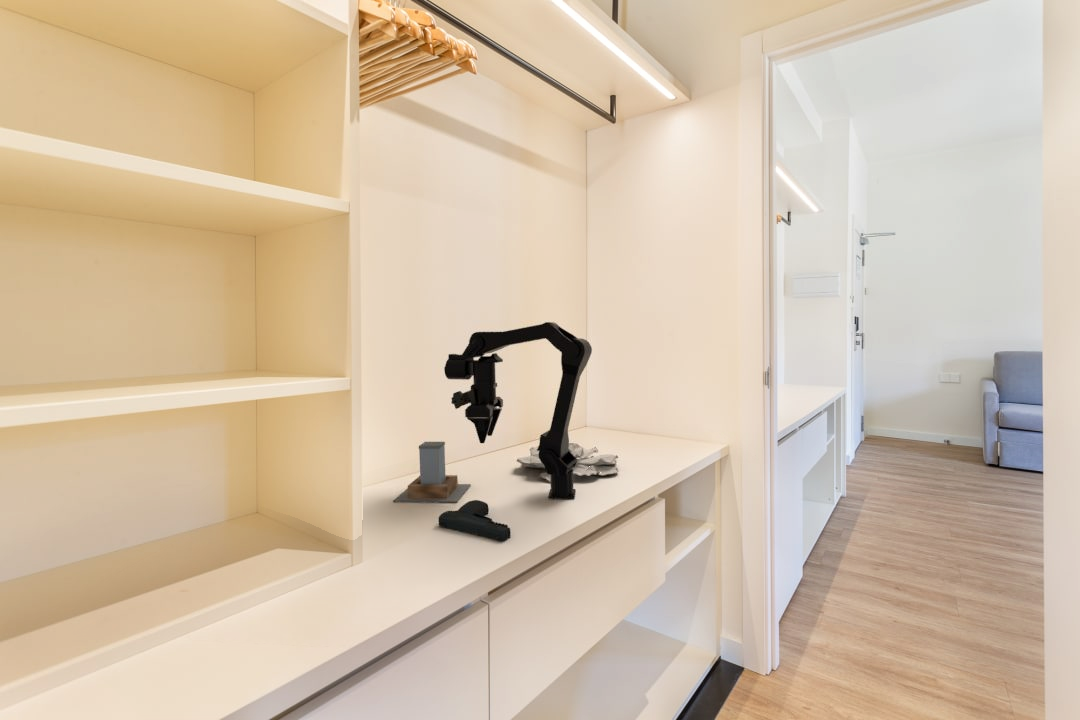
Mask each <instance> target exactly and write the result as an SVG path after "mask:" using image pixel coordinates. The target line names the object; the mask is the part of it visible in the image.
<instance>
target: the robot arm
mask: <svg viewBox="0 0 1080 720" xmlns="http://www.w3.org/2000/svg"><path fill="white" fill-rule="evenodd" d="M545 339H546V340H547V341H548V343H550V344H551V345H552V346H553V347H554V348H555V349H556V350H558V351H559V352H560V353H561V356H560V358H561V359H560V365H561V371H562V375H561V378H560V379H561V380H560V383H559V388H558V392H557V397H556V400H555V401H556V402H555V406H554V411H553V415H552V419H551V420H552V421H551V423H550V428H549V430H547V431H545V432H543V433H542V434H540V435H539V436H540V437H539V444H538V446H539V447H538V446H537V447H538V449H537V451H539V459H540V461H541V462H542V463H543V464H544V466H545V468H544V469H545V471H546V472H547V474H550V482H549V483H550V489H549V492H548V494H547V495H548V496H547V499H556V500H557V499H563V500H569V499H570V500H575V498H576V489H575V488H574V478H573V470H572V469H573V468H574V467H575V466H576V463H577V459H576V457H575V456H574V455H573V454H572V453H571V452H570V451H569V443H570V437H569V427H570V422H571V417H572V413H573V408H574V405H575V401H576V400H575V399H576V395H577V391H578V387H579V383H580V378H581V376H582V374H583V372H584V370H585V368H586V367H587V365H588V362H589V360H590V358H591V355H592V351H593V349H592V345H591V344H590V341H588V340H587V339H585V338H578V337H577V336H575V335H574V334H572V333H571V332H569V331H568V330H566V329H564V328H562V327H561V326H560V325H558V323H557V322H554V321H553V322H552V321H551V322H550V321H547V322H544V323H541V324H536V325H529V326H526V327H521V328H515V329H509V330H506V331H476V332H473V333H472V334H471V336H470V337H469V341H468V344H467V346H466V347H465V349H464V350H463V352H462V354H457V353H448V357H447V358H448V359H447V360H446V362H445V365H444V369H443V371H444V376H445V377H446V379H448V380H459V381H460V380H463V381H465V380H466V381H468V380H471V378H473V381H472V382H473V383H472V384H471V386H470V389H469V390H467V391H465V392H462V391H461V390H459V391H456V392H453V393H452V397H451V402H450V403H451V404H452V405H454V408H455V410H457V409H459V408H460V409H461V407H463V406H465V405H468V404H469V405H468V406H467V407H466V408H465V409H464V415H465V416H464V417H465V418H466V419H467V420H468V421H470V422H471V423H472V424H474V427H475V431H476V434H477V437H478V440H479V443H480V444H485V442H486V439H487V436H488V437H490V436H491V437H492V436H493V434H494V430H495V428H496V425H497V422H498V420H499V417H500V415H501V412H502V410H503V407H504V400H503V398H502V397H501V396H497V390H496V389H497V387H498V382H496V364H498V363H503V360H504V359H503V358H502V357H500V356H499V355H498V354H497V351H499V350H502V349H504V348H506V347H509V346H512V345H513V346H514V345H517V344H518V345H519V344H523V343H529V342H533V341H540V340H545ZM494 352H495V353H494ZM486 354H491V355H486ZM474 358H478V359H474Z"/></svg>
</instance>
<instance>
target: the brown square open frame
mask: <svg viewBox="0 0 1080 720" xmlns="http://www.w3.org/2000/svg"><path fill="white" fill-rule="evenodd" d="M445 476H446V482H445V483H444V484H421V483H420V475H419V476H418V477H417V478H415V479H414V480H413V481H411V482H410V483H408V485H407V488H408V498H448V497H449V496H450V495H451V494H452V492H453V491H454V490H455V489H456V488H457V487H458V484H459V483H458V482H459V480H458V475H457V474H456V475H453V474H452V475H451V474H449V475H447V474H445Z"/></svg>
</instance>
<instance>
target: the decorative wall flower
mask: <svg viewBox="0 0 1080 720" xmlns="http://www.w3.org/2000/svg"><path fill="white" fill-rule="evenodd" d="M538 447H539V445H538V446H535V447H534V446H532V447H531V448H529V451H530V455H528V456H523V457H518V458H517V459H516V462H517V463H519V464H522V467H524V468H525V467H526V468H534V469H535V468H536V469H545V466H544V464H543V463H542V462H541V461H540V459H539V451H537V449H538ZM569 451H570V452H571V453H572V454H573V455H574V456H575V457H576V459H577V463H576V466H575V467H574V468H573V469H572V470H573V479H574V478H575V475H577V476H580V477H582V476H588V477H590V476H594V475H595V476H608V475H615V474H617V473H619V470H618V467H616V466H615V467H614V466H610V465H615V464H617V459H619V456H618V455H614V454H599V455H595V456H593V455H594V453H599V450H598V448H597V447H596V446H594V447H593V448H590V449H585V448H584V447H583V446H581V445H579V444H578V443H575V442H573V443H570V442H569ZM588 457H589V458H588ZM608 465H609V466H608ZM589 466H590V467H589ZM600 472H601V473H600ZM539 478H542V479H544V480H547V481H548V482H549V483H550V474H547V471H546V472H542V473H540V474H539Z"/></svg>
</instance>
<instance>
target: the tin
mask: <svg viewBox="0 0 1080 720" xmlns="http://www.w3.org/2000/svg"><path fill="white" fill-rule="evenodd" d="M445 445H446V441H424V442H423V443H421V444H420V445H418V450H419V452H418V453H419V454H418V455H419V476H420V483H421V484H444V483H445V482H446V476H445V475H446V454H445V451H446V447H445Z"/></svg>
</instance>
